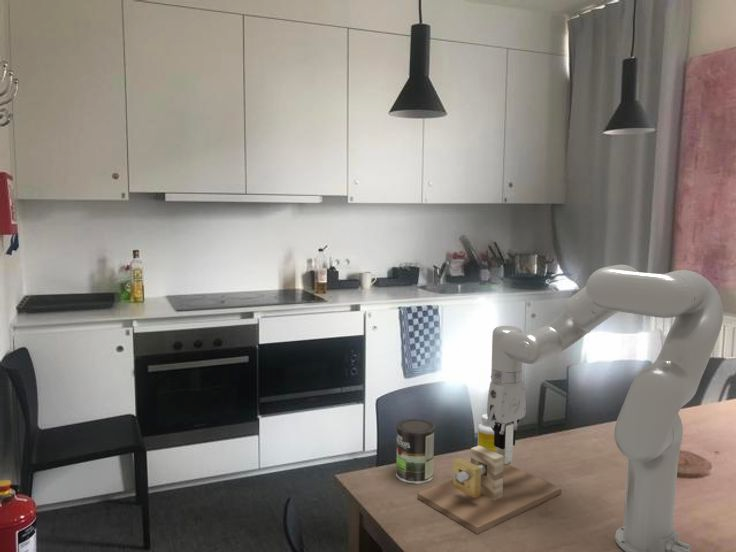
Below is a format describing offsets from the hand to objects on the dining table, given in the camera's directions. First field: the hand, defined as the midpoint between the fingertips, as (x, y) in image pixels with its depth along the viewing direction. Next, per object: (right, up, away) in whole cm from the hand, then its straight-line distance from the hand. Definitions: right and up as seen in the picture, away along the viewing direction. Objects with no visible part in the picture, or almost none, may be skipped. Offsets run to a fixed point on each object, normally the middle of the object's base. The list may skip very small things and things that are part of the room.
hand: (504, 445), depth 150 cm
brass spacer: (-11, -9, -7) cm, 16 cm away
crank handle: (-6, -6, -4) cm, 9 cm away
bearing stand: (-4, -12, -2) cm, 13 cm away
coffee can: (-22, -11, +10) cm, 27 cm away
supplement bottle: (0, -10, +20) cm, 23 cm away
